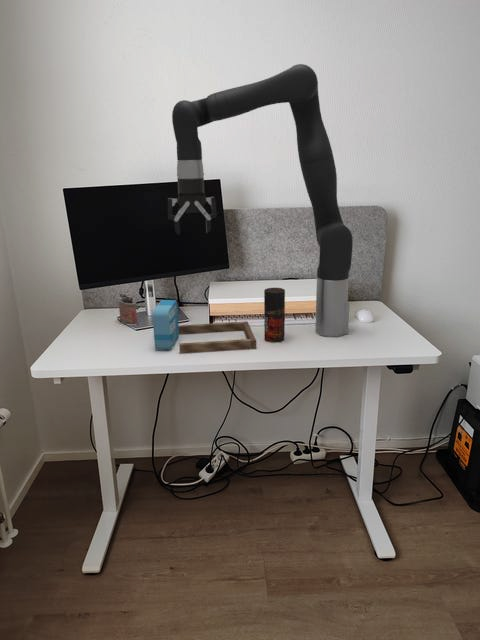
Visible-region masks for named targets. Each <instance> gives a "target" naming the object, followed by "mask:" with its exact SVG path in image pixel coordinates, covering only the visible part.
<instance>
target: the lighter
mask: <svg viewBox="0 0 480 640" xmlns="http://www.w3.org/2000/svg"><path fill="white" fill-rule="evenodd" d="M119 297H120V298H119V299H118V300H117V303H118V308H119V311H118V312H119V323H121V324H122V325H125V326H127V325H126V324H137V323H138V324H139V322H138V315H137V314H138V313H137V302H136V301H134V299H133V298H134V297H133V295H131V294H130V293H124V292H120V293H119Z"/></svg>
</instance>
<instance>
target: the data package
mask: <svg viewBox="0 0 480 640" xmlns="http://www.w3.org/2000/svg"><path fill="white" fill-rule="evenodd" d="M179 325H180V323H179V310H178V301H177V300H176V299H161V300H160V301H159V302H158V304H156V306H155V307H154V308H153V310H152V327H153V338H154V348H155V350H156V351H160V350H161V351H165V350H166V351H167V350H169V351H172V349H173V348H174V346H175V344H176V343H177V341H178V339H179V337H180V335H179Z"/></svg>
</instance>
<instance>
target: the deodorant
mask: <svg viewBox="0 0 480 640" xmlns="http://www.w3.org/2000/svg"><path fill="white" fill-rule="evenodd" d="M263 292H264V293H263V294H264V295H263V296H264V297H263V300H264V302H263V303H264V305H263V307H264V308H263V309H264V310H263V311H264V313H263V314H264V316H263V319H264V322H263V323H264V324H263V325H264V329H263V330H264V332H263V333H264V335H263V336H264V337H263V338H264V339H263V340H264V341H265V342H267V343H271V344H277V343H278V344H279V343H282V342H284V341H285V334H286V333H285V330H286V329H285V328H286V327H285V320H286V319H285V318H286V316H285V315H286V313H285V312H286V311H285V309H286V308H285V307H286V301H285V300H286V290H285V288H283V287H268V288H265V289H264V291H263Z"/></svg>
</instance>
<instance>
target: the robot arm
mask: <svg viewBox="0 0 480 640" xmlns="http://www.w3.org/2000/svg"><path fill="white" fill-rule="evenodd" d="M319 97H320V96H319V82H318V77H317V74H316V71H315V70H314V69H313V68H312V67H310V66H309V65H307V64H303V63H299V64H298V63H297V64H294V65H293V66H291V67H289V68H287V69H286V70H285V69H284V71H281V72H279V73H277V74H275V75H272V76H270V77H267V78H265V79H263V80H260V81H257V82H251V83H248V84H245V85H240V86H236V87H232V88H228V89H224V90H221V91H218V92H214V93H211V94H209V95H207V97H204V98H200V99H197V100H193V101H189V100H184V99H183V100H179V101H178V102H176V104H175V105H174V106H173V109H172V115H171V119H172V128H173V133H174V138H175V141H176V158H177V159H176V160H177V162H176V163H177V164H176V177H177V194H178V196H177V198H171V197H169V198H167V219H168V220H169V221H173V222H174V231H175V233H177V235H181V227H180V226H181V225H180V219H181V217H182V216H183V215H184V213H186V214H191V213H193V214H194V213H195V214H197V213H201V214H202V215H203V216H204V218H205V229H206V230H205V231H206V232H205V233H206V234H210V232H211V231H212V220H213V219H216V218H217V217H218V214H217V213H218V211H217V202H216V198H215V197H214V196H210V197H206V196H205V182H204V181H205V180H204V179H205V177H204V176H205V173H204V163H203V151H202V142H201V140H200V138H199V130H198V128H199V127H200V128H201V127H202V126H206V125H208V124H211V123H214V122H218V121H223V120H227V119H231V118H234V117H237V116H240V115H244V114H246V113H249V112H253V111H254V110H256V109H260V108H263V107H267V106H272V105H277V104H285V103H289V106H290V110H291V113H292V117H293V120H294V125H295V130H296V132H295V133H296V145H297V153H298V159H299V164H300V165H299V166H300V170H301V173H302V178H303V181H304V184H305V189H306V192H307V196H308V197H309V202H310V203H311V207H312V211H313V212H312V213H313V219H314V228H315V235H316V236H315V238H316V243H317V244H318V246H319V258H318V259H319V261H318V262H319V263H318V266H317V269H316V297H315V298H316V300H315V327H314V328H315V329H314V330H315V332H314V333H316V334H318V335H319V336H321V337H329V338H332V337H333V338H335V337H341V336H343V335H349V326H350V325H349V323H350V303H349V302H348V295H349V277H350V276H349V275H350V271H351V267H352V259H353V247H354V244H353V234H352V232H351V230H350V228H348V227H347V225H345V224H344V221H343V219H342V218H343V217H342V214H341V211H340V207H339V203H338V195H337V194H338V178H337V177H338V175H337V174H338V173H337V168H336V164H335V163H336V162H335V158H334V153H333V148H332V146H331V141H330V138H329V136H328V133H327V130H326V127H325V125H324V124H325V123H324V121H323V117H322V112H321V105H320V99H319ZM176 203H177V204H178V206H179V207H180V208H179V210H178V212H177V213H176V214H175V215H173V207H174V206H175V205H176ZM206 203H208V204H209V205H210V207H211V214H209V213H208V211H206V209H205V208H204V206H205V204H206Z"/></svg>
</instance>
